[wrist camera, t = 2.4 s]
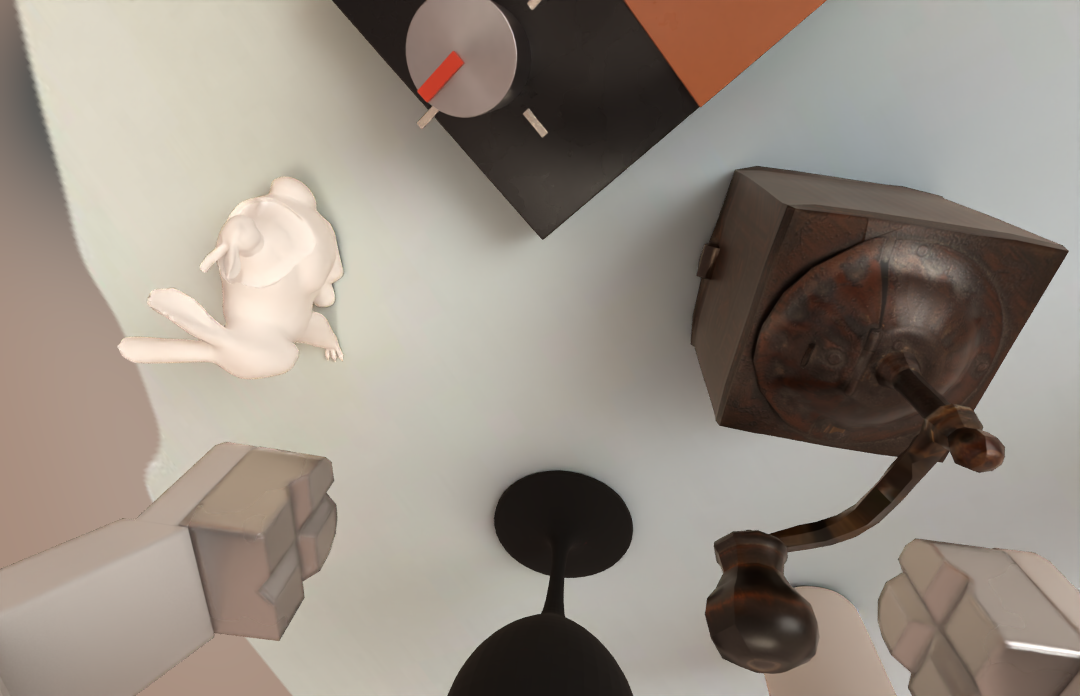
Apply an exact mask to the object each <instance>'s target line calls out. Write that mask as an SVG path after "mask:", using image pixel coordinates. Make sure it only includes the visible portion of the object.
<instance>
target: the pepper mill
mask: <svg viewBox="0 0 1080 696" xmlns="http://www.w3.org/2000/svg"><path fill="white" fill-rule="evenodd" d="M1068 252H1069V251H1068V250H1067V249H1066V248H1065V247H1064V246H1063V245H1060V244H1058V243H1055V242H1053V241H1050V240H1048V239H1045V238H1043V237H1040V236H1038V235H1036V234H1033V233H1031V232H1028V231H1026V230H1023V229H1021V228H1018V227H1016V226H1014V225H1011V224H1009V223H1006V222H1004V221H1001V220H999V219H997V218H994V217H991V216H989V215H986V214H984V213H981V212H978V211H976V210H973V209H971V208H968V207H965V206H963V205H960V204H957V203H955V202H952V201H949V200H946V199H944V198H943V197H942V196H939V195H935V194H931V193H927V192H923V191H919V190H915V189H911V188H907V187H903V186H894V185H885V184H877V183H871V182H864V181H858V180H851V179H844V178H838V177H831V176H824V175H818V174H811V173H805V172H798V171H791V170H783V169H776V168H768V167H761V166H755V167H749V168H743V169H738V170H735V172H734V175H733V177H732V180H731V183H730V186H729V189H728V192H727V195H726V198H725V201H724V203H723V206H722V209H721V212H720V215H719V218H718V220H717V223H716V226H715V228H714V231H713V234H712V236H711V239H710V242H709V243H707V244H705V245H704V248H703V250H702V253H701V256H700V260H699V265H698V271H697V276H699V277H701V283H700V287H699V292H698V296H697V300H696V305H695V309H694V312H693V322H692V334H691V345H693V346H694V347H695V351H696V354H697V358H698V361H699V364H700V368H701V371H702V374H703V378H704V381H705V384H706V387H707V390H708V394H709V397H710V400H711V403H712V406H713V410H714V413H715V419H716V422H717V423H718V424H719V426H724V427H728V428H733V429H738V430H743V431H748V432H752V433H758V434H765V435H771V436H776V437H782V438H787V439H792V440H797V441H803V442H808V443H813V444H819V445H824V446H829V447H836V448H842V449H848V450H854V451H861V452H867V453H873V454H880V455H888V456H896V457H898V458H897V459H896V460H895V461H894V462H893V463H892V464H891V465H890V467H889V468H888V469H887V471H886V472H885V473H884V475H883V476H882V477H881V479H880V480H879V481H878V482H877V483H876V484H875V485H874V486H873V487H872V488H871V489H870V490H869V491H868V492H867V493H866V494H865V495H864V496H863V497H862V498H861V499H860V500H859V501H858V502H857V503H856V504H855V505H853V506H852V507H850V508H848V509H847V510H845V511H843V512H842V513H840V514H838V515H836V516H833V517H830V518H827V519H824V520H821V521H818V522H813V523H808V524H803V525H798V526H795V527H791V528H788V529H784V530H781V531H777V532H774V533H771V534H766V533H764V532H761V531H759V530H755V531H752V530H746V531H733V532H731V533H730V534H728V535H726V536H724V537H722V538H720V539H718V540H717V541H715V542H714V550H715V555H716V561H717V563H718V564H719V565H720V566H721V569H722V572H723V575H722V577H721V579H720V581H719V583H718V585H717V587H716V589H715V590H714V591H713V592H712V593H711V594H710V596H709V597H708V598H707V603H706V611H705V616H706V620H707V624H708V628H709V632H710V636H711V639H712V641H713V643H714V645H715V646H716V648H717V650H718V651H719V653H720V655H721V657H722V658H723V659H725V660H727V661H729V662H731V663H734V664H736V665H738V666H740V667H743V668H745V669H748V670H751V671H753V672H756V673H767V674H777V673H783V672H787V671H789V670H791V669H793V668H796V667H798V666H800V665H802V664H805V663H807V662H809V661H810V660H811V659H812V658H813V657H814V656H815V655H816V651H817V646H818V642H819V638H820V636H819V629H818V622H817V619H816V617H815V614H814V611H813V609H812V606H811V604H810V603H809V602H808V601H807V600H806V599H805V598H804V597H803V596H801V595H800V594H799V593H798V592H797V591H796V590H795V589H794V588H793V587H792V586H791V585H790V583H789V582H788V581H787V579H786V578H785V577H784V564H785V563H786V561H787V558H788V554H787V552H793V551H800V550H807V549H813V548H818V547H824V546H829V545H833V544H836V543H839V542H842V541H845V540H848V539H851V538H854V537H856V536H858V535H860V534H861V533H863V532H865V531H866V530H868V529H869V528H871V527H873V526H874V525H876V524H878V523H879V522H880V521H881V520H882V519H883V518H884V517H885V516H886V515H887V514H889V513H890V512H891V511H892V510H893V509H894V508H895V507H896V506H897V505H898V504H899V503H900V502H901V501H902V500H903V499H904V498H905V497H906V496H907V495H908V493H909V492H910V491H911V490H912V489H913V488H914V487H915V485H916V484H917V483H918V482H919V481H920V480H921V479H922V478H923V477H924V476H925V475H926V474H927V472H928V471H929V470H930V469H931V468H932V467H933V466H934V465H935V464H936V463H937V462H943V461H944V460H945V458H946V456H947V455H948V453H949V451H950V453H951V455H952V457H953V460H954V462H955V463H956V464H958V465H961V466H963V467H965V468H968V469H970V470H973V471H976V472H979V473H981V472H987V471H993V470H994V469H996V468H997V467H999V466H1000V465H1002V463H1003V460H1004V457H1005V447H1004V445H1003V444H1002V443H1001V442H1000V440H999V439H998V438H996V437H995V436H993V435H991V434H990V433H988V432H985V431H982V429H983V425H982V424H981V422H980V421H979V419H978V417H977V416H976V414H975V412H974V409H975V408H976V406H977V404H978V403H979V401H980V399H981V398H982V396H983V394H984V393H985V391H986V389H987V387H988V386H989V384H990V382H991V381H992V379H993V377H994V376H995V374H996V372H997V370H998V369H999V367H1000V365H1001V364H1002V362H1003V360H1004V359H1005V357H1006V355H1007V353H1008V352H1009V350H1010V348H1011V347H1012V345H1013V343H1014V342H1015V340H1016V338H1017V337H1018V335H1019V333H1020V332H1021V330H1022V328H1023V327H1024V325H1025V323H1026V322H1027V320H1028V318H1029V317H1030V315H1031V313H1032V312H1033V310H1034V308H1035V307H1036V305H1037V303H1038V302H1039V300H1040V298H1041V297H1042V295H1043V293H1044V292H1045V290H1046V288H1047V287H1048V285H1049V283H1050V282H1051V280H1052V278H1053V277H1054V275H1055V273H1056V272H1057V270H1058V268H1059V267H1060V265H1061V263H1062V262H1063V260H1064V258H1065V257H1066V255H1067V253H1068Z"/></svg>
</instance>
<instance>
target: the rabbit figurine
mask: <svg viewBox="0 0 1080 696" xmlns="http://www.w3.org/2000/svg"><path fill="white" fill-rule="evenodd" d="M316 205H317V203H316V200H315V197H314V195H313V194H312V192H311V191H310V190H309V188H308V187H307V186H306V185H305V184H304V183H302V182H301V181H299V180H297V179H294V178H291V177H279V178H276V179H274V180H273V182H272V184H271V188H270V192H269V194H267V195H264V196H259V197H256V198H251V199H247V200H245V201H243V202H241V203H240V204H238V205H237V207H236V208H235V209H234V210H233V211H232V212H231V214H230V216H229V218H228V219H227V221H226V223H225V224H224V226H223V227H222V229H221V231H220V233H219V236H218V239H217V243H216V248H215V249H214V250H213V251H212V252H210V253H209V254H208V255H207V256H206V257H205V258H204V261H202V264H200V269H201V271H203V272H207V271H208V270H209V269H210V267H211V266H212V265H213V264H214V263H215V262H217V266H218V267H219V269H220V278H221V282H222V293H223V314H224V317H225V319H226V324H225V325H224V326H222V325H221V324H219V323H218V322H217V321H216V320H215V319H213V318H212V317H211V315H210V314H209V313H208V312H207V311H206V310H205V309H204V308H203V307H202V306H201V305H200V304H199V303H198V302H197V301H196V300H195V299H193V298H192V297H190V296H188V295H187V294H185V293H183V292H181V291H179V290H177V289H174V288H168V289H155V290H153V291H152V292H151V293H150V295H149V297H148V299H147V304H148V305H149V306H150V307H151V308H152V309H153V310H155V311H157V312H158V313H160V314H161V315H163V316H165V317H166V318H168V319H169V320H171V321H172V322H173V323H175V324H176V325H177V326H179V327H180V328H182V329H183V330H185V331H186V332H188V333H189V334H191V335H192V336H194V337H196V338H198V339H200V340H202V341H200V340H187V339H162V338H153V337H126V338H124V339H122V340H121V342H120V344H119V345H118V346H117V347H118V348H119V349H120V353H121V355H122V356H123V357H125V358H126V359H128V360H130V361H132V362H136V363H184V362H213V363H215V364H217V365H218V366H220V367H221V368H223V369H224V370H226V371H227V372H229V373H230V374H232V375H234V376H236V377H238V378H243V379H258V378H265V377H272V376H276V375H280V374H284V373H286V372H288V371H289V370H291V369H292V368H293V366H294V365H295V362H296V360H297V359H298V357H299V349H298V348H297V347H296V346H295V344H293V343H294V342H298V343H306V344H310V345H313V346H316V347H321V348H324V349H325V357H326V358H327V360H328V361H329V357H330V353H331V358H332V359H333V360H334V361H335V362H336V358H337V355H338V357H339V358H340V359H341V360H342V361H343V356H344V355H343V353H342V352H341V349H340V347H339V344H338V340H337V337H336V335H335V334H334V332H333V331H332V329H331V327H330V325H329V323H328V321H327V319H326V318H325V317H324V316H323V315H322V314H320V313H317V312H313V311H312V305H313V303H314V304H315V305H316V306H318V307H329V306H331V305H332V304H333V303H334V301H335V294H334V290H333V287H332V283H334V282H336V281H337V280H339V279H340V278H341V277H342V275H343V267H342V263H341V259H340V255H339V251H338V247H337V241H336V236H335V232H334V230H333V228H332V226H331V224H330V223H329V222H328V221H327V220H326V219H325V218H324V217H322V216H321V215H320V214H319V213H318V211H317V209H316ZM336 353H337V355H336Z"/></svg>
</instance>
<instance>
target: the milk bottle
mask: <svg viewBox="0 0 1080 696" xmlns="http://www.w3.org/2000/svg"><path fill="white" fill-rule="evenodd" d="M794 589H795V590H796V591H797V592H798V593H799V594H800V595H801V596H803V597H804V598H805V599H806V600H807V601H808V602H809V603H810V604H811V606H812V609H813V611H814V614H815V617H816V619H817V622H818V629H819V636H820V638H819V642H818V646H817V651H816V655H815V656H814V657H813V658H812V659H811V660H810V661H809V662H807V663H805V664H802V665H800V666H798V667H796V668H793V669H791V670H789V671H787V672H783V673H777V674H767V673H764V675H765V679H766V683H767V687H768V691H769V695H770V696H897V695H896V693H895V691H894V689H893V687H892V684H891V682H890V680H889V678H888V676H887V673H886V671H885V669H884V667H883V665H882V662H881V660H880V658H879V656H878V654H877V651H876V649H875V647H874V645H873V643H872V641H871V638H870V636H869V634H868V632H867V630H866V627H865V625H864V623H863V621H862V619H861V617H860V615H859V613H858V611H857V609H856V608H855V607H854V605H853V604H852V603H851V602H849V601H848V600H847V599H846V598H845V597H843V596H842V595H840V594H839V593H837V592H834V591H832V590H829V589H825V588H821V587H812V586H802V587H794Z"/></svg>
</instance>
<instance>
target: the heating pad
mask: <svg viewBox="0 0 1080 696" xmlns="http://www.w3.org/2000/svg"><path fill="white" fill-rule="evenodd" d="M623 1H624V2H625V4H626V5H627V6H628V8H629V9H630V11H631V12H632V13H633V15H634V16H635V18H636V19H637V20H638V22H639V23H640V25H641V26H642V27H643V29H644V30H645V32H646V33H647V34H648V36H649V37H650V39H651V40H652V41H653V43H654V44H655V45H656V47H657V48H658V50H659V51H660V52H661V54H662V55H663V57H664V58H665V59H666V61H667V62H668V64H669V65H670V66H671V68H672V69H673V71H674V72H675V73H676V75H677V76H678V78H679V79H680V80H681V82H682V83H683V85H684V86H685V87H686V89H687V90H688V92H689V93H690V94H691V96H692V97H693V99H694V100H695V101H696V103H697V104H698V106H699V107H702V106H703V105H704V104H705V103H706V102H707V101H709V100H710V99H711V98H712V97H713V96H715V95H716V94H717V93H718V92H719V91H720V90H722V89H723V88H724V87H725V86H726V85H728V84H729V83H730V82H731V81H732V80H733V79H735V78H736V77H737V76H738V75H739V74H740V73H742V72H743V71H744V70H745V69H746V68H748V67H749V66H750V65H751V64H752V63H753V62H755V61H756V60H757V59H758V58H759V57H761V56H762V55H763V54H764V53H765V52H766V51H768V50H769V49H770V48H771V47H772V46H773V45H775V44H776V43H777V42H778V41H779V40H781V39H782V38H783V37H784V36H785V35H786V34H788V33H789V32H790V31H791V30H792V29H793V28H795V27H796V26H797V25H798V24H799V23H801V22H802V21H803V20H804V19H805V18H806V17H808V16H809V15H810V14H811V13H812V12H814V11H815V10H816V9H817V8H818V7H819V6H821V5H822V4H823V3H824V2H825V1H826V0H623Z"/></svg>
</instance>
